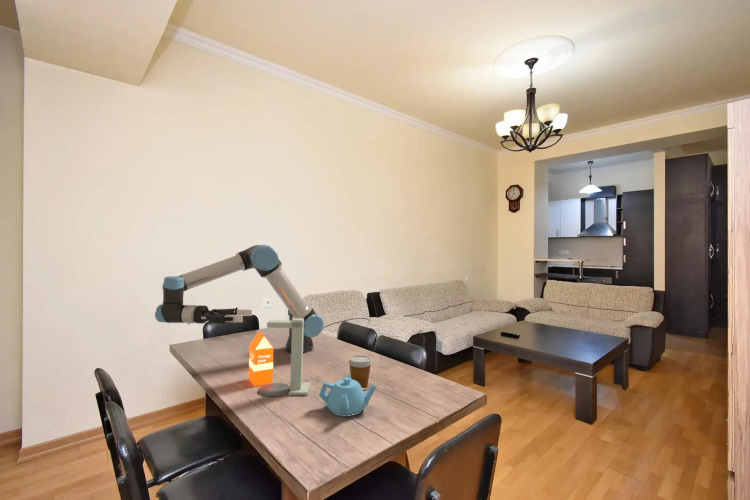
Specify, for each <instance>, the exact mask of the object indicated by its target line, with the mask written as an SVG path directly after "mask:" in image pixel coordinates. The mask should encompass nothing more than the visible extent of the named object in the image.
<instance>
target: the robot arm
mask: <svg viewBox="0 0 750 500" xmlns="http://www.w3.org/2000/svg"><path fill="white" fill-rule="evenodd" d="M282 265H283V263H282V261H281V260H280V258H279V254H278V252H277V250H276V249H275V248H273V247H272V246H270V245H267V244H255V245H252V246H249V248H245V249H244V250H241V251H238V252H236V254H235V255H234V256H231V257H229V258H225V259H222V260H219V261H217V262H214V263H211V264H208V265H205V266H202V267H200V268H197V269H195V270H192V271H188V272H186V273H183V274H181V275H178V276H177V275H176V276H175V275H173V276H165V277H164V278H163V283H162V287H161V288H162V292H163V293H162V295H163V296H162V304H159V305H157V307H156V309H155V312H154V317H155V320H156V321H157V322H159V323H167V324H187V325H191V324H202V325H203V324H205V323H207V322H210V323H217V324H221V325H225V323H243V317H252V316H253V309H238V308H239V307H234V308H219V309H218V308H213V309H211V310H209V306H207V305H199V304H198V305H197V304H194V305H193V304H184V292H186V291H188V290H191V289H194V288H196V287H198V286H202V285H204V284H206V283H209V282H212V281H215V280H217V279H221V278H223V277H225V276H228V275H231V274H234V273H237V272H239V271H243V272H245V271H247V270H252V269H255V271H256V272H257V274H258V275H259V276H260V278H263V279H266V280H267V281H268V284H270V286H271V287H272V289H273V290H274V292H275V293H276V294H277V297H279V298H280V300H281V301H282V302H283V304H284V306H285V307H286V308H287V309H288V311H289V313H288V315H289V320H288V321H292V320H293V319H294V318H304V334H303V352H304V353H308V352H307V351H309V352H311V351H313V350H314V341H313V338H315V337H318V336H319V335H320V334H321V333H322V332H323V329H324V325H325V323H324V322H325V321H324V319H323V317H321V315H318V313H317V312H316V311H315V310H314V308H313V307H312V306H311V305H308V304H306V302H305V301H304V299H303V297H302V296H301V295H300V293H299V292H298V290H297V289H296V288H295V286H294V285H293V283H292V282H291V280H290V279H289V277H288V276H287V274H286V273H285V272H284V270H283V269H282ZM291 342H292V328H288V337H287V340H286V343H285V345H284V346H285V352H288V353H291ZM312 349H313V350H312ZM310 350H311V351H310Z"/></svg>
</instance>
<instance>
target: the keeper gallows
mask: <svg viewBox="0 0 750 500" xmlns="http://www.w3.org/2000/svg"><path fill="white" fill-rule="evenodd" d="M266 328H267V329H273V328H274V329H289V328H292V342H291V352H290V382H289V383H290V385H289V387H290V391H289V392H288V396H289V395H307V394H309V392H308V391H310V389H309V388H311V385H310V384H311V381H308V382H307V381H303V371H304V370H303V363H304V360H303V359H304V353H303V334H304V318H294V319H293V320H292V321H289V320H276V319H275V320H273V319H272V320H271V319H270V320H268V321H267V322H266ZM307 396H308V395H307Z"/></svg>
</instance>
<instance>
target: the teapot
mask: <svg viewBox="0 0 750 500" xmlns="http://www.w3.org/2000/svg"><path fill="white" fill-rule="evenodd" d="M327 388H328V389H330V391H329V393H327V392H326V391H327ZM376 388H377V385H374V384H372V385H371V386H370V387H369V389H367V390H366V393H365V390H364V391H363V389H362V387H361V386H360V384H359V383H358V382H357V381H355V380H352V379H351V374H346V377H343V378H342V379H339V380H337V381H336V382H335V383H332V382H328V381H324V382H323V384H322V386H321V389H320V391H319V394H318V396H319V398H321V400H323V401H324V403H326V406H327V408H328V410H329V411H330V413H332V412H333V413H335V414H339V415H352V414H356V413H359V412H361V411H362V410H363V411H364V409H365V408H366V406H368V404H369V402H370V400H371V398H372V397H373V394H374V392H375V390H376ZM363 411H362V412H363ZM362 412H361V413H362ZM333 413H332V414H333ZM335 414H334V415H335ZM359 414H360V413H359Z"/></svg>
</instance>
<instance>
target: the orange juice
mask: <svg viewBox="0 0 750 500" xmlns="http://www.w3.org/2000/svg"><path fill="white" fill-rule="evenodd" d="M248 346H249V353H248V355H249V356H248V357H249V359H248V380H249V382H250V383H251V384H252V386H253V387H258V386H264V385H267V384H273V380H274V377H273V376H274V374H273V373H274V347H273V346H272V344H271V343H270V342H269V340H268V339H267V337H266V336H265V334H263V333H262V332H261V331H260V330H259V331H258V332H257V333H256V335H255V337H254V338H253V339H252V340H251V342H250V344H249V345H248Z"/></svg>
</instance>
